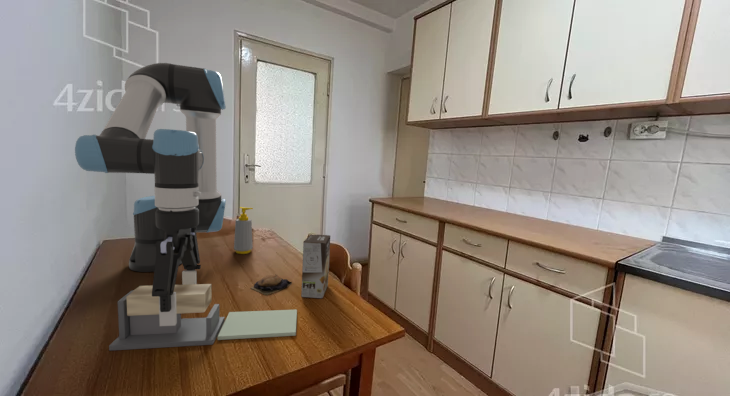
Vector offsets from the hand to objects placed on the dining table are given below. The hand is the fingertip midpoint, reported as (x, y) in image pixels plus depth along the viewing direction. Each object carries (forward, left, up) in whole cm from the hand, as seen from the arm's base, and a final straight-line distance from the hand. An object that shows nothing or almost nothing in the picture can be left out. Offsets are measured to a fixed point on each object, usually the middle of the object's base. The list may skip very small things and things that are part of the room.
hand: (179, 310), depth 64 cm
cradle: (0, -2, -5) cm, 6 cm away
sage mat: (-2, +16, -5) cm, 17 cm away
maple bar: (0, -2, +1) cm, 2 cm away
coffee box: (-19, +29, -6) cm, 35 cm away
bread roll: (-23, +16, -6) cm, 29 cm away
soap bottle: (-56, +2, -6) cm, 56 cm away
